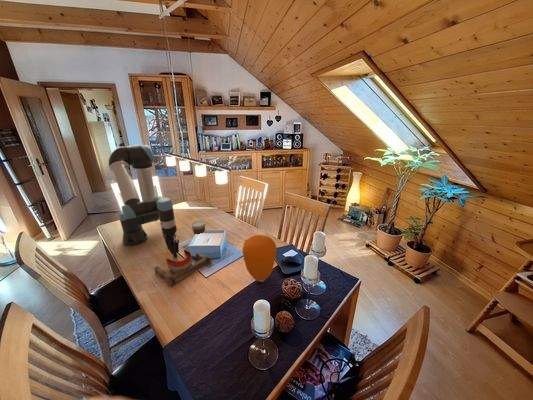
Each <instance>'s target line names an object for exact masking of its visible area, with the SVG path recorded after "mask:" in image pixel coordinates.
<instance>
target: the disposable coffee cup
mask: <svg viewBox="0 0 533 400" xmlns="http://www.w3.org/2000/svg"><path fill="white" fill-rule="evenodd" d="M190 227H191V229H192V232H193V235H195V234H200V233H203V232H204V231H205V232H206V222H205V221H203V220H197V221H194V222H193V223H191V225H190Z"/></svg>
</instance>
